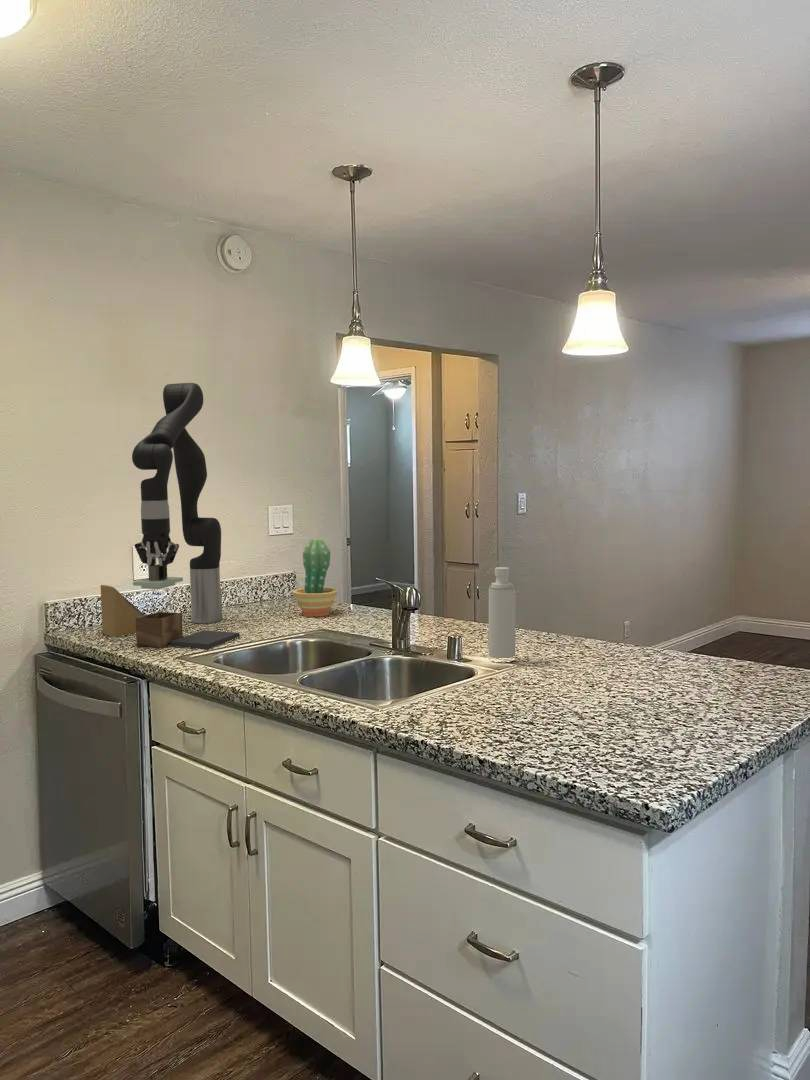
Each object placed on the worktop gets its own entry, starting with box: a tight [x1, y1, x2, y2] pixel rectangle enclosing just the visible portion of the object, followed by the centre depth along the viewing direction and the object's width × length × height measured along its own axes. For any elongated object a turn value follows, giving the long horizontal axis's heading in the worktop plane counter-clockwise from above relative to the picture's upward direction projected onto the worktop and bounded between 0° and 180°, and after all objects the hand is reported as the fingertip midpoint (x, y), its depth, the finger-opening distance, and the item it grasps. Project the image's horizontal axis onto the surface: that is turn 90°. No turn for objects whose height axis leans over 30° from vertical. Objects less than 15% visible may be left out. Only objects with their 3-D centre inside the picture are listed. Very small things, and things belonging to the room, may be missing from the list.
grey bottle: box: [488, 566, 517, 658], centre depth 205 cm, size 7×7×25 cm
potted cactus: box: [292, 539, 339, 617], centre depth 271 cm, size 15×15×25 cm
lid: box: [132, 563, 184, 590], centre depth 227 cm, size 11×9×6 cm
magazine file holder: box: [100, 584, 145, 638], centre depth 245 cm, size 9×15×15 cm, turn 134°
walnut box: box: [135, 611, 184, 649], centre depth 228 cm, size 10×8×8 cm
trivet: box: [170, 629, 240, 650], centre depth 230 cm, size 16×12×2 cm
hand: (158, 578), depth 227 cm, fingers closed on lid, 2 cm apart
